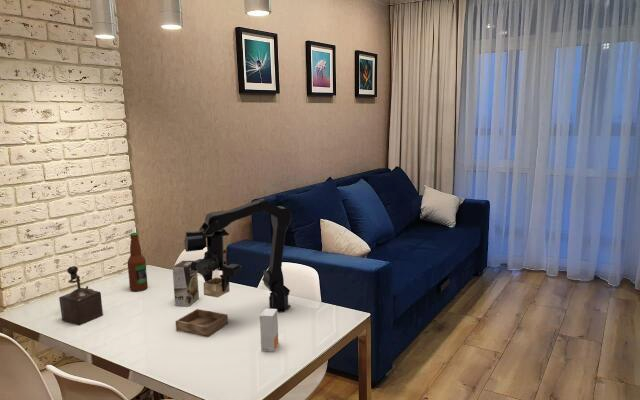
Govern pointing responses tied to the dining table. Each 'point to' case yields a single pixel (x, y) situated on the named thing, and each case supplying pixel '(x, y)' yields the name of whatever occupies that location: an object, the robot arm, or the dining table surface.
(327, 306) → the dining table surface
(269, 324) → the skincare box
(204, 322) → the big crate
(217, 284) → the small crate
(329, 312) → the dining table surface
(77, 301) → the manual coffee grinder
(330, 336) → the dining table surface
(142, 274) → the bottle
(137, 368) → the dining table surface
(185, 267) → the coffee box
